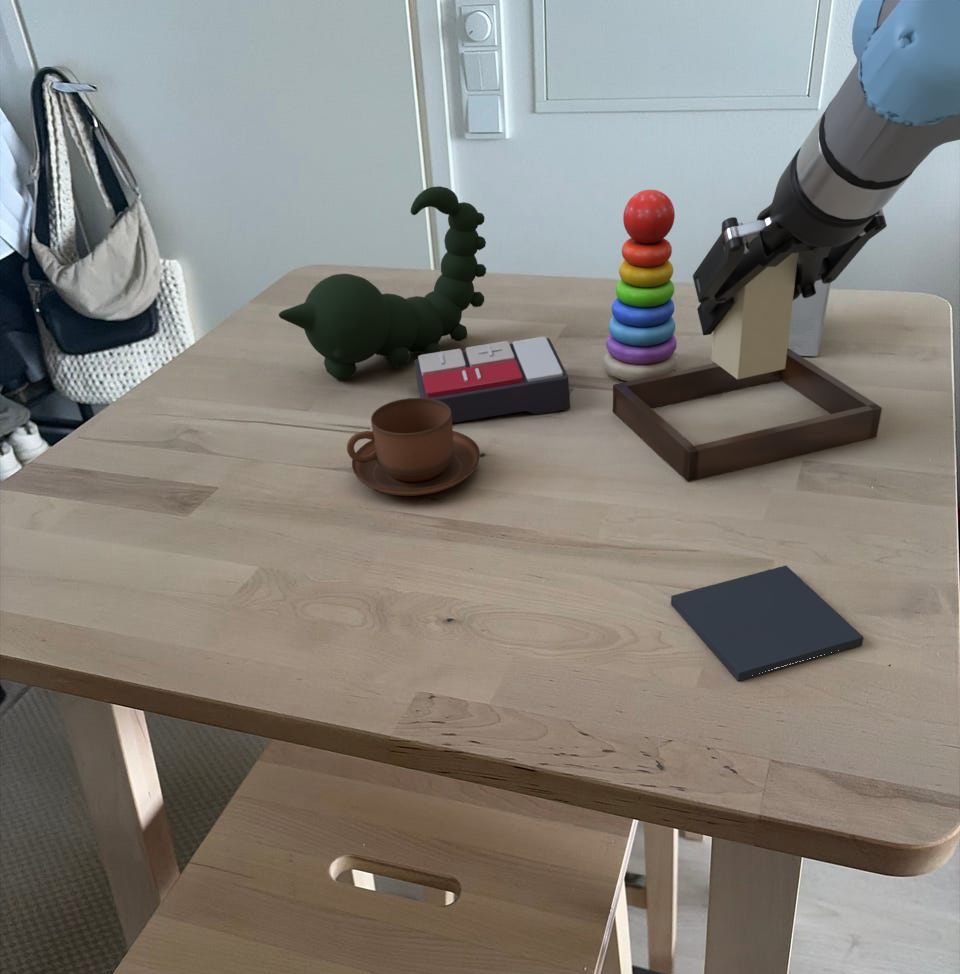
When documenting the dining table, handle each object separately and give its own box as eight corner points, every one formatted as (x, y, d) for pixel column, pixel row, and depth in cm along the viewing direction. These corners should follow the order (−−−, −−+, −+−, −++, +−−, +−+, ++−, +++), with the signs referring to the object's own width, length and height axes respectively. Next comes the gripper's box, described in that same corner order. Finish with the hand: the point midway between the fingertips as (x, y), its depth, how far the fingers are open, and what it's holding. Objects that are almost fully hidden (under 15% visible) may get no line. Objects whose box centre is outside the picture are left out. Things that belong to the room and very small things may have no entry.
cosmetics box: (820, 357, 112) (834, 260, 106) (759, 355, 114) (770, 259, 107) (821, 322, 120) (834, 229, 114) (764, 320, 122) (774, 228, 115)
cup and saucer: (394, 522, 91) (385, 459, 87) (332, 471, 99) (322, 412, 95) (506, 478, 96) (502, 418, 92) (438, 433, 104) (433, 376, 100)
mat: (784, 573, 81) (786, 565, 80) (862, 645, 73) (864, 636, 73) (670, 603, 79) (670, 595, 78) (737, 681, 71) (739, 673, 71)
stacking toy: (596, 382, 111) (598, 200, 99) (611, 353, 117) (614, 178, 105) (670, 387, 109) (680, 202, 97) (681, 357, 115) (692, 179, 103)
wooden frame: (783, 374, 110) (787, 347, 108) (876, 436, 98) (882, 407, 96) (612, 411, 105) (612, 384, 103) (687, 482, 93) (689, 452, 91)
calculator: (412, 352, 111) (548, 329, 112) (418, 389, 114) (551, 367, 114) (421, 394, 103) (568, 370, 103) (427, 433, 105) (571, 409, 106)
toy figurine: (455, 338, 128) (268, 377, 116) (455, 173, 117) (249, 198, 105) (498, 361, 121) (305, 404, 110) (502, 189, 110) (288, 217, 99)
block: (757, 350, 100) (768, 234, 93) (785, 369, 96) (798, 249, 89) (711, 360, 99) (719, 243, 92) (737, 379, 95) (747, 259, 88)
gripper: (944, 113, 77) (815, 266, 100) (711, 144, 75) (633, 294, 98) (970, 206, 76) (833, 339, 99) (735, 240, 74) (651, 368, 97)
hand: (734, 316), depth 98 cm, fingers closed on block, 5 cm apart
